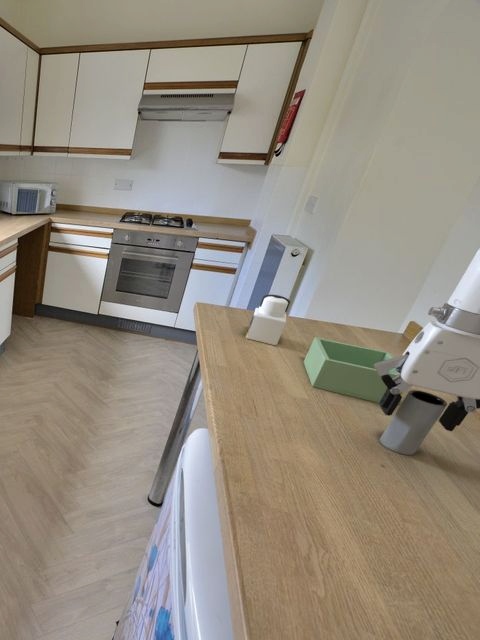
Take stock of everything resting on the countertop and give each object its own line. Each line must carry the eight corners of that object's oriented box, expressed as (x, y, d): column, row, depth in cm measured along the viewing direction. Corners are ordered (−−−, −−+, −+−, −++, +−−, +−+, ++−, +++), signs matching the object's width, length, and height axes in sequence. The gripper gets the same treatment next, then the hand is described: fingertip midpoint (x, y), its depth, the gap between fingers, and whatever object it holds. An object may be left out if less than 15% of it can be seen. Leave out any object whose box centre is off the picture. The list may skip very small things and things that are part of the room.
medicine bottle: (247, 330, 117) (262, 290, 112) (277, 337, 113) (293, 296, 108) (245, 338, 112) (260, 297, 107) (276, 346, 108) (294, 303, 103)
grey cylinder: (373, 441, 73) (403, 392, 68) (387, 436, 74) (416, 387, 70) (406, 458, 69) (439, 407, 64) (419, 451, 71) (453, 402, 66)
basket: (375, 378, 94) (389, 352, 91) (394, 406, 84) (411, 378, 81) (303, 362, 100) (314, 337, 97) (312, 386, 90) (325, 359, 87)
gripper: (407, 316, 62) (354, 412, 70) (580, 345, 55) (499, 450, 62) (391, 302, 68) (344, 392, 76) (546, 327, 60) (475, 425, 68)
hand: (414, 418), depth 69 cm, fingers open, 6 cm apart
